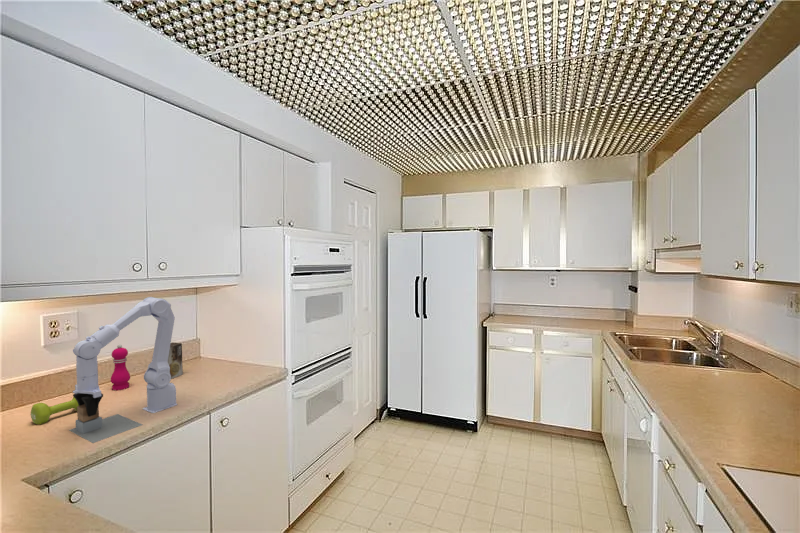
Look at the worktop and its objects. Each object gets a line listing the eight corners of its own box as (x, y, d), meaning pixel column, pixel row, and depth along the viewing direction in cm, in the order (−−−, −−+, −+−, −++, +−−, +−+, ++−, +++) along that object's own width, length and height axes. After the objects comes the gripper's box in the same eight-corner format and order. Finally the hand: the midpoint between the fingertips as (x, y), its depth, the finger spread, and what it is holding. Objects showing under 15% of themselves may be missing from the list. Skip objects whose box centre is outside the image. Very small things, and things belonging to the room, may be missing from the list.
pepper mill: (108, 391, 168) (106, 347, 168) (114, 386, 175) (113, 343, 174) (127, 389, 171) (126, 345, 170) (132, 384, 178) (131, 342, 177)
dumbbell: (82, 406, 153) (82, 389, 152) (92, 410, 149) (92, 392, 149) (28, 423, 138) (27, 403, 138) (38, 428, 134) (37, 407, 134)
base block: (94, 423, 136) (94, 414, 136) (102, 427, 134) (101, 417, 134) (75, 430, 132) (75, 420, 132) (83, 433, 129) (82, 423, 129)
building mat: (117, 414, 145) (117, 413, 145) (143, 425, 136) (143, 424, 136) (68, 431, 132) (68, 430, 132) (93, 444, 123) (93, 443, 123)
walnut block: (93, 414, 135) (92, 401, 135) (98, 416, 133) (98, 404, 133) (77, 419, 132) (77, 406, 131) (83, 422, 129) (82, 409, 129)
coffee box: (172, 373, 194) (172, 342, 193) (183, 374, 192) (182, 342, 191) (157, 379, 185) (156, 346, 184) (168, 380, 183) (167, 347, 183)
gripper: (63, 375, 132) (65, 413, 133) (83, 382, 125) (84, 422, 125) (88, 369, 138) (89, 406, 139) (107, 376, 131) (109, 414, 132)
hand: (88, 413), depth 132 cm, fingers closed on walnut block, 4 cm apart
